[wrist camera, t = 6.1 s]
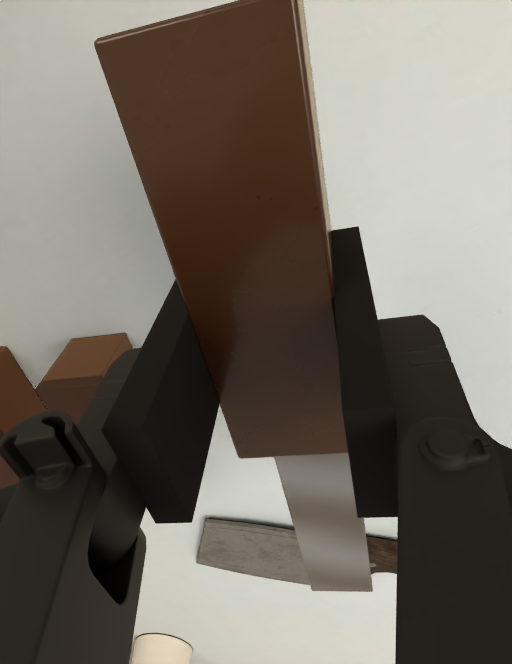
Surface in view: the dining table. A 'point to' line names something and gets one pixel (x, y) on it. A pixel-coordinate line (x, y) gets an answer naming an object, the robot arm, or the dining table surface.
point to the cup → (161, 650)
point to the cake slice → (80, 373)
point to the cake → (14, 405)
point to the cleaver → (273, 551)
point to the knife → (250, 244)
